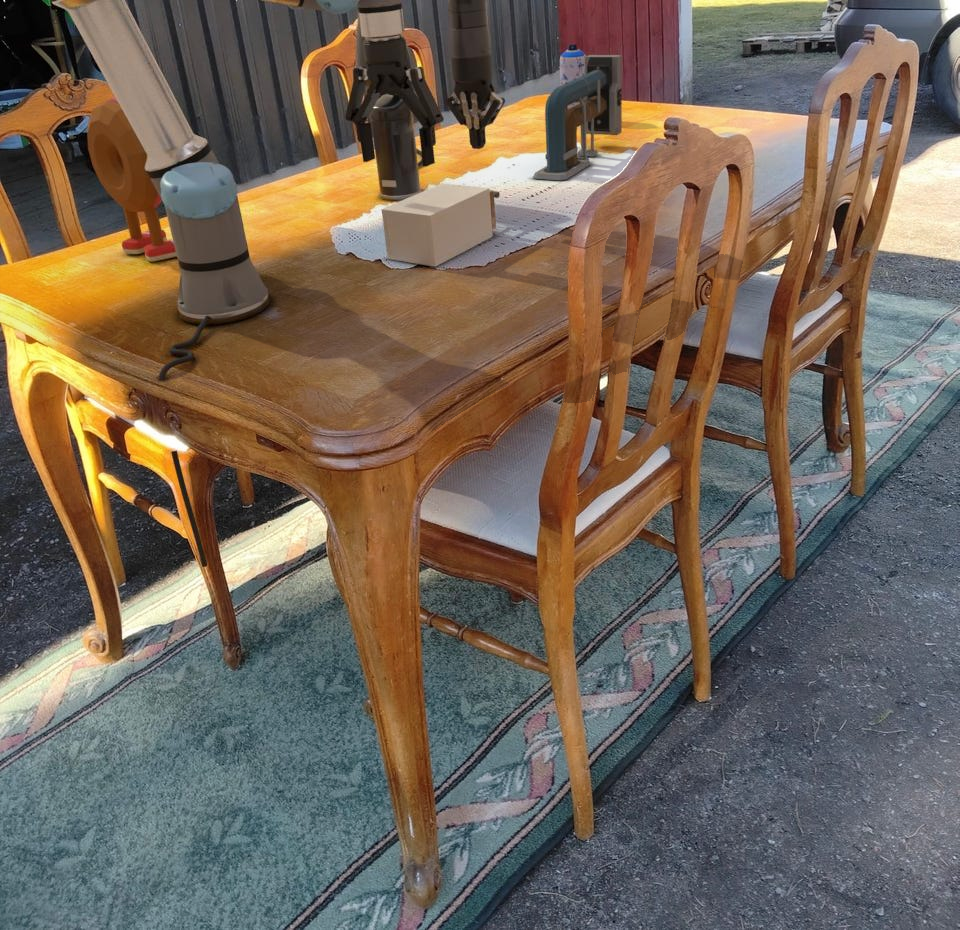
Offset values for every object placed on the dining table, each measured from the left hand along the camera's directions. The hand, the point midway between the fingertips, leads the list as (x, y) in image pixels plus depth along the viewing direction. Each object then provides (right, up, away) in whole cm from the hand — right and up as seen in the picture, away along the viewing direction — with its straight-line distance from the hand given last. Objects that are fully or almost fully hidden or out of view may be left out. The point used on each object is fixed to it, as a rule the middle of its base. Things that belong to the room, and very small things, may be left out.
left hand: (398, 162), depth 178 cm
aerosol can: (+42, +44, +100) cm, 117 cm away
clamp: (+39, +18, +58) cm, 72 cm away
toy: (-51, -12, +19) cm, 56 cm away
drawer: (+11, -10, +12) cm, 19 cm away
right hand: (+15, +6, +11) cm, 19 cm away
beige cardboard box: (+8, -14, +9) cm, 18 cm away
